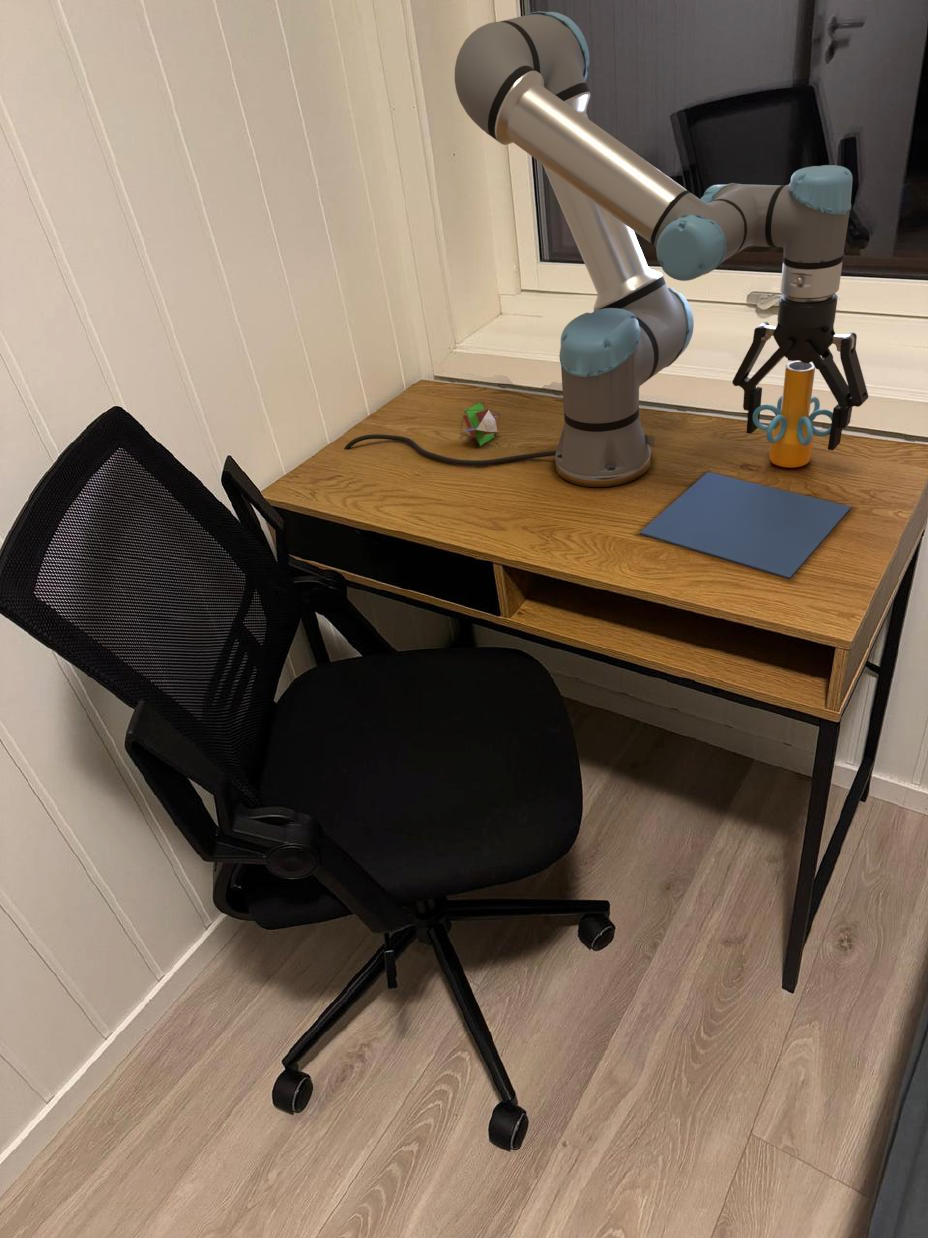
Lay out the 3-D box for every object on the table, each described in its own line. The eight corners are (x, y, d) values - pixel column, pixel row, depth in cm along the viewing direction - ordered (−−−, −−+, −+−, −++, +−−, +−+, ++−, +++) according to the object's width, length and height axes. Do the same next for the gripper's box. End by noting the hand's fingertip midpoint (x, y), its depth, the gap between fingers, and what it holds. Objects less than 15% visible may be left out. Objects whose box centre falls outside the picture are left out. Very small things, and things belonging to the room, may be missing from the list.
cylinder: (742, 447, 137) (749, 356, 128) (806, 437, 137) (818, 345, 128) (770, 482, 127) (780, 387, 118) (839, 472, 127) (854, 375, 118)
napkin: (639, 533, 121) (639, 532, 121) (707, 473, 133) (707, 471, 132) (789, 579, 109) (790, 577, 109) (851, 508, 120) (851, 506, 120)
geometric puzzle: (445, 431, 151) (461, 402, 145) (470, 415, 155) (487, 386, 149) (473, 460, 151) (490, 432, 144) (497, 443, 155) (515, 416, 148)
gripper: (714, 293, 122) (707, 432, 135) (890, 312, 108) (863, 465, 121) (738, 277, 126) (729, 413, 139) (911, 293, 112) (883, 443, 125)
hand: (792, 438), depth 130 cm, fingers closed on cylinder, 12 cm apart
